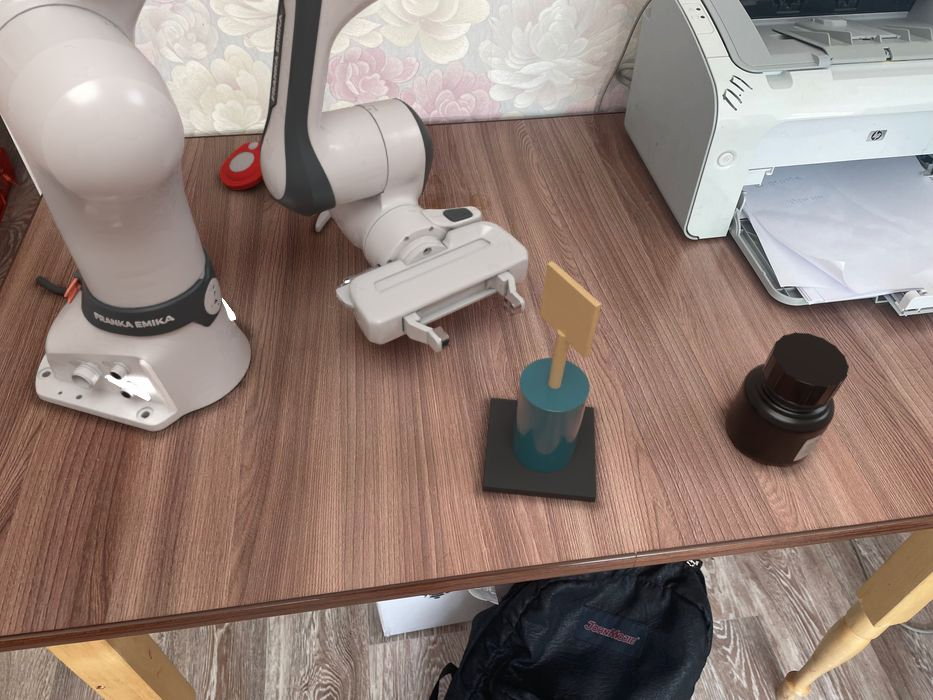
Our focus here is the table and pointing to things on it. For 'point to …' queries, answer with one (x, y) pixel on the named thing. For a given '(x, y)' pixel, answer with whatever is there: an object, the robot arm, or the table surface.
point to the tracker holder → (242, 167)
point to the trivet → (518, 479)
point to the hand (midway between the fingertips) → (482, 327)
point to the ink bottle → (787, 400)
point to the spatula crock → (556, 378)
